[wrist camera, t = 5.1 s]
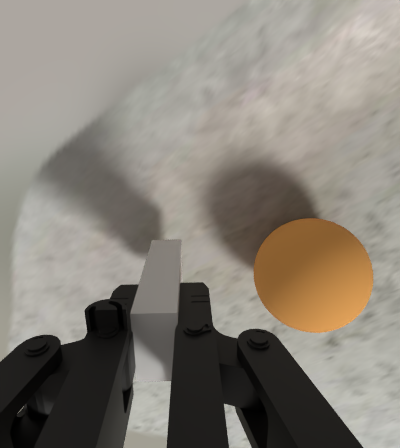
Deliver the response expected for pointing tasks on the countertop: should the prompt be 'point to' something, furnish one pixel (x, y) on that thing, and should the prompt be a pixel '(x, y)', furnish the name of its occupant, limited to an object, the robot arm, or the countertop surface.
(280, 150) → the countertop surface
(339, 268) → the ball
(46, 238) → the countertop surface
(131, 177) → the countertop surface
